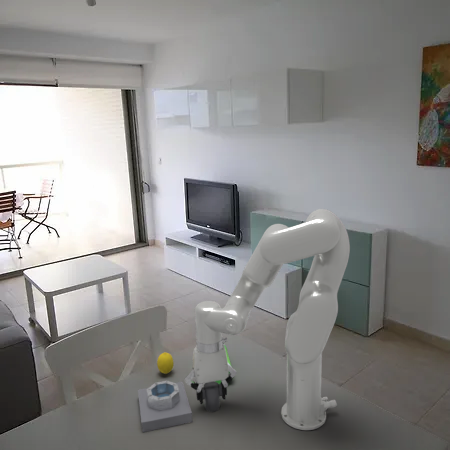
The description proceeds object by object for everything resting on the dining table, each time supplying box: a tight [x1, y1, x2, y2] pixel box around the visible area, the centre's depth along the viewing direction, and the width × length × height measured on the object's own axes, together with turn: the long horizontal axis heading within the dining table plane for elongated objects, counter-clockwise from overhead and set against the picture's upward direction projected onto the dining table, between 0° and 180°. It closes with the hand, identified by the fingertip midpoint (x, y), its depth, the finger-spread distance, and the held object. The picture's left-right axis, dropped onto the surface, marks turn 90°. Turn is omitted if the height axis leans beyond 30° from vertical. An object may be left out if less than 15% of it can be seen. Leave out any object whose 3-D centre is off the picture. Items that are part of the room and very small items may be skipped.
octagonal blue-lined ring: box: [147, 380, 180, 411], centre depth 125 cm, size 9×9×4 cm
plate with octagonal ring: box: [137, 381, 193, 433], centre depth 126 cm, size 14×16×3 cm
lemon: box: [156, 351, 175, 375], centre depth 144 cm, size 6×6×8 cm
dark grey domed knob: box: [201, 381, 222, 413], centre depth 126 cm, size 6×5×7 cm
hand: (211, 398), depth 126 cm, fingers closed on dark grey domed knob, 6 cm apart
